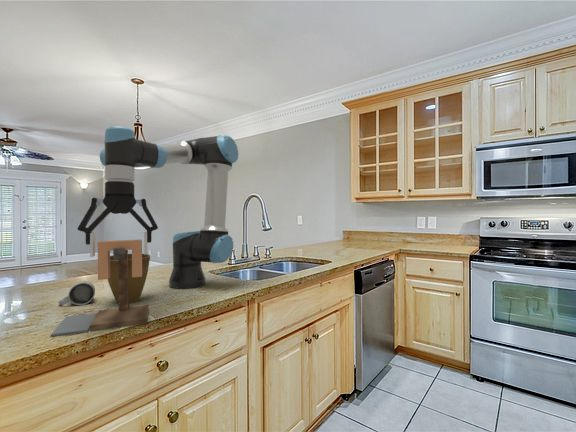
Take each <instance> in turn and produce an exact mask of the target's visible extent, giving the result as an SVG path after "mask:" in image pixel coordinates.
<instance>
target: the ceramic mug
mask: <svg viewBox="0 0 576 432" xmlns="http://www.w3.org/2000/svg"><path fill="white" fill-rule="evenodd" d="M95 290H96V288H95V285H94V284H93V283H92V282H91V281H88V280H79V281H78V282H76V283H75V284H74V285H73V286H72V287H70V289H69V291H68V294H67V296H65V297H63V298H62V299H59V300H58V304H59V305H60V306H64V305H67V304H69V303H71V304H73V305H75V306H84V305H85V306H86V305H87V304H89V303H90V302H91V301H93V299H94V298H95V293H96V291H95Z"/></svg>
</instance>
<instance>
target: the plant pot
mask: <svg viewBox="0 0 576 432" xmlns="http://www.w3.org/2000/svg"><path fill="white" fill-rule="evenodd" d="M150 260H151V255H150V254H148V253H147V254H144V253H142V277H132V253H128V304H130V303H135V302H137V301H139V300H140V299H141V296H142V293H143V290H144V287H145V284H146V280H147V277H148V271H149V265H150ZM107 281H108V285H109V287H110V290H111V292H112V295H113V297H114V300H115V301H116V303H117V304H119V268H118V259H113V255H110V277H109V279H107Z"/></svg>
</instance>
